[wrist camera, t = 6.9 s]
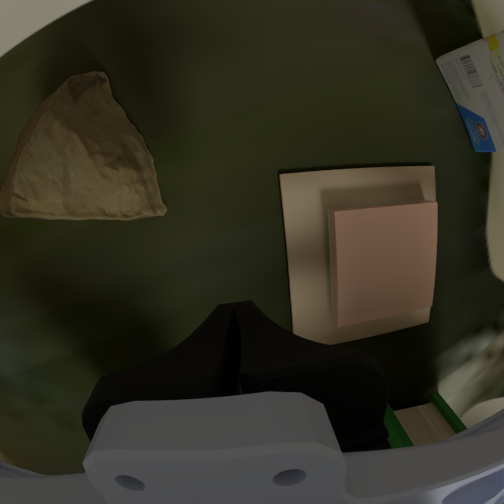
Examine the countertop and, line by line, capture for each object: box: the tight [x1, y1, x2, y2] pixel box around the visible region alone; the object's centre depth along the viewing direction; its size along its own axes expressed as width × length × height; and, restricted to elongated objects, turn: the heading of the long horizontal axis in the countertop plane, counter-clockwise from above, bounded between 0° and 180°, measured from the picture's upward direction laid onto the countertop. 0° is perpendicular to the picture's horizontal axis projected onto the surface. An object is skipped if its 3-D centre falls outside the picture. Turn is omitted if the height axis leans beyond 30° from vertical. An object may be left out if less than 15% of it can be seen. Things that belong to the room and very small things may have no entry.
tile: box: [327, 200, 437, 327], centre depth 21 cm, size 8×2×8 cm
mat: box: [279, 166, 436, 345], centre depth 22 cm, size 13×12×1 cm
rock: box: [0, 71, 167, 221], centre depth 16 cm, size 11×9×10 cm
